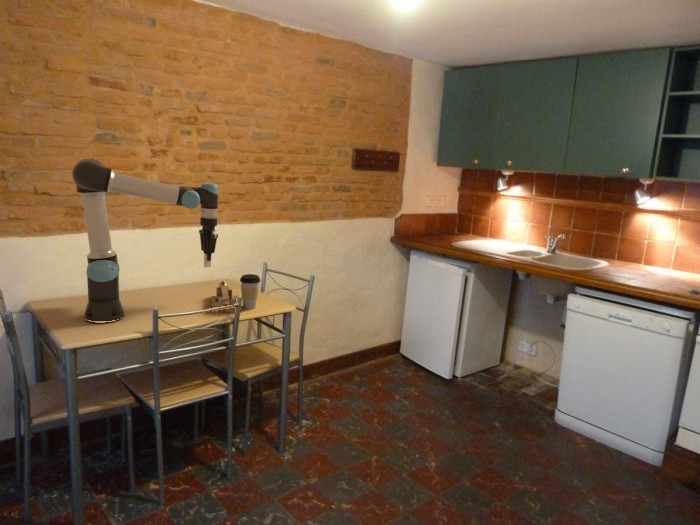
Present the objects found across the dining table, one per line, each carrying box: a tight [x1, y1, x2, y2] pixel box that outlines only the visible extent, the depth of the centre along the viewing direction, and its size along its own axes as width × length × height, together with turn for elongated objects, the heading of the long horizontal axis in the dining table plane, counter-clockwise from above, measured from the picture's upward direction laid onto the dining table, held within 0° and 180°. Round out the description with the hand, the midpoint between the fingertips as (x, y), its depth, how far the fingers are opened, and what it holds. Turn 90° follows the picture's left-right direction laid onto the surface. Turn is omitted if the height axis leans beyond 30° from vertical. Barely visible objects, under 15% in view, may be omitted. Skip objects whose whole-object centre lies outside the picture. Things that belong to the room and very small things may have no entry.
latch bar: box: [218, 280, 228, 298], centre depth 242 cm, size 18×4×3 cm, turn 18°
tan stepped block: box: [210, 289, 238, 314], centre depth 236 cm, size 12×14×8 cm
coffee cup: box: [239, 273, 261, 310], centre depth 239 cm, size 9×9×15 cm
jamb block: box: [215, 286, 230, 296], centre depth 250 cm, size 6×6×5 cm
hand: (207, 266), depth 240 cm, fingers closed
